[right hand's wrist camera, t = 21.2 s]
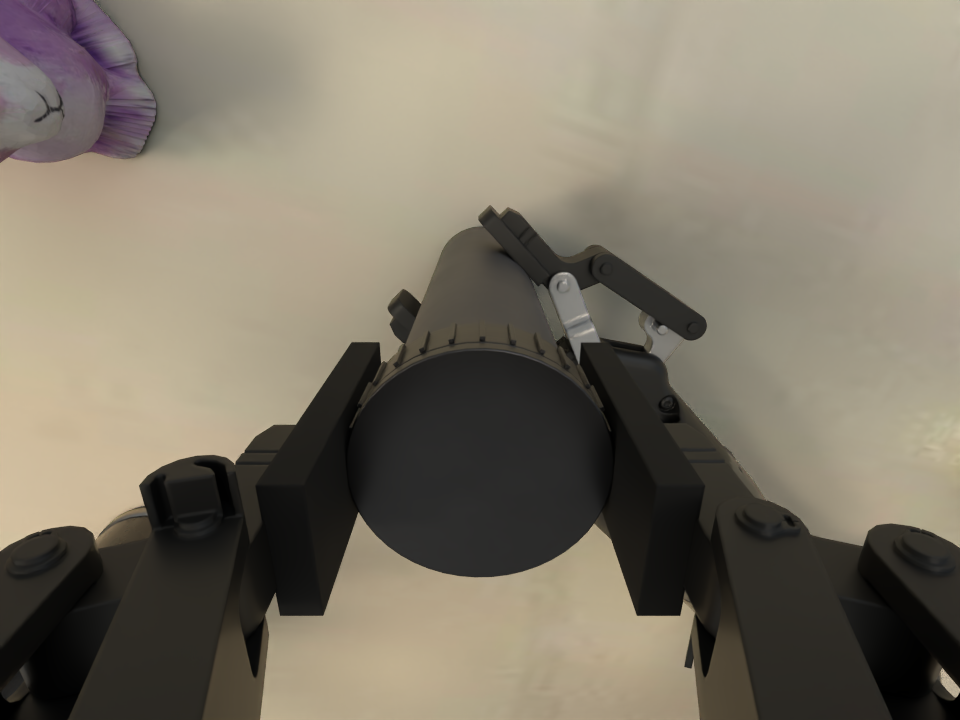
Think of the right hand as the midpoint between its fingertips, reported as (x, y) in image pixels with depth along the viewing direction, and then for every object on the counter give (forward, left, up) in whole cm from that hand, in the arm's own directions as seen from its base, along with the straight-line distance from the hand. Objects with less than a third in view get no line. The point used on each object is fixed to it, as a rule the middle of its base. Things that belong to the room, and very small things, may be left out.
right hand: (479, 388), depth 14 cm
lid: (0, 0, +4) cm, 4 cm away
